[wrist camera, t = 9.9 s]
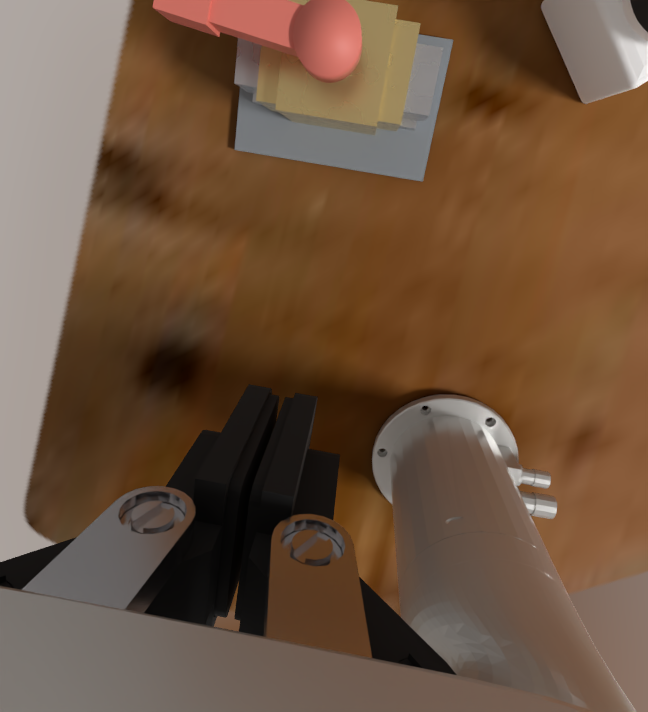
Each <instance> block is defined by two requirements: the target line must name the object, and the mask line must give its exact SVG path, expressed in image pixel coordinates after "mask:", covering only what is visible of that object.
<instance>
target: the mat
mask: <svg viewBox="0 0 648 712" xmlns="http://www.w3.org/2000/svg"><path fill="white" fill-rule="evenodd" d="M417 43H418V44H424V45H430V46H436V47H443V52H442V57H441V62H440V67H439V71H438V76H437V81H436V86H435V90H434V95H433V100H432V105H431V109H430V114H429V116H428V117H427V118H426V119H425V120H424V121H423V122H422V121H417V124H416V129H415V130H414V131H411V130H405V129H399V128H398V130H397V131H390V130H384V129H378V128H376V134H375V135H369V134H363V133H357V132H351V131H345V130H339V129H333V128H327V127H321V126H315V125H309V124H303V123H297V122H292V121H291V120H289V119H288V118H286V117H285V116H284V115H282V114H281V113H279V112H275V111H271V110H270V109H268V108H267V107H265V106H261V105H257V104H256V103H254V102H252V101H253V93H248V92H246V91H245V90H243V89H242V88H240V93H239V105H238V116H237V128H236V139H235V150H239V151H245V152H251V153H256V154H262V155H268V156H274V157H280V158H286V159H292V160H298V161H304V162H310V163H316V164H322V165H328V166H334V167H339V168H345V169H351V170H357V171H363V172H369V173H375V174H381V175H387V176H393V177H399V178H405V179H411V180H417V181H423V178H424V173H425V168H426V164H427V159H428V155H429V150H430V145H431V141H432V136H433V131H434V127H435V122H436V118H437V113H438V108H439V104H440V99H441V94H442V90H443V85H444V80H445V76H446V71H447V67H448V62H449V57H450V53H451V48H452V43H453V40H451V39H445V38H438V37H432V36H426V35H420V34H418V39H417Z"/></svg>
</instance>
